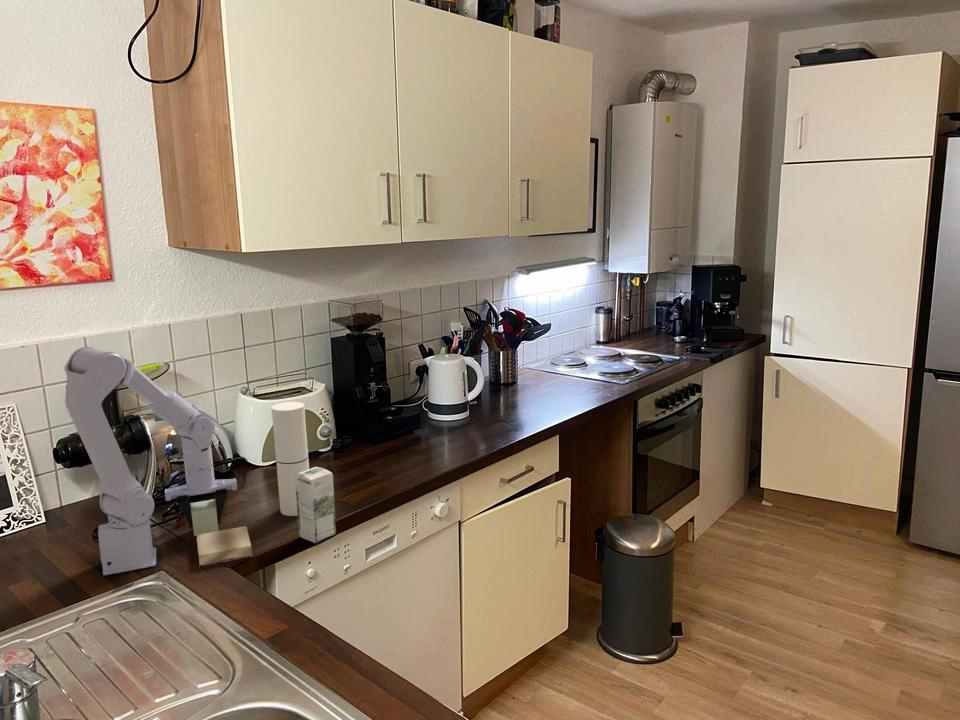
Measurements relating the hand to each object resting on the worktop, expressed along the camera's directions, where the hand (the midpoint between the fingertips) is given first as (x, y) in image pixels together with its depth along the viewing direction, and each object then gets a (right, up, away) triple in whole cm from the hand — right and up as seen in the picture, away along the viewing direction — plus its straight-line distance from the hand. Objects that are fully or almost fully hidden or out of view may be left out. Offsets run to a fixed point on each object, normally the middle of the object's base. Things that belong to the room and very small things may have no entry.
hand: (205, 524), depth 164 cm
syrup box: (+25, -2, -3) cm, 26 cm away
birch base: (+7, -4, -9) cm, 13 cm away
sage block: (0, -1, 0) cm, 1 cm away
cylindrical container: (+17, +1, +10) cm, 20 cm away
